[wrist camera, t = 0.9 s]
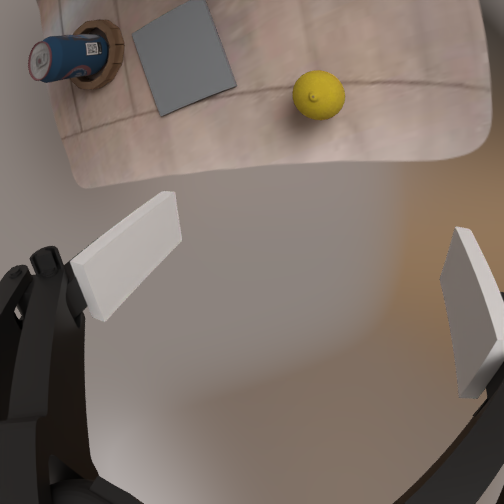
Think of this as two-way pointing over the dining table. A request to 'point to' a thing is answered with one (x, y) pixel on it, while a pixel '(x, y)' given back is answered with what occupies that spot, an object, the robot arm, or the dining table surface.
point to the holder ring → (114, 53)
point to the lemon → (318, 95)
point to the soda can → (67, 57)
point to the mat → (183, 57)
